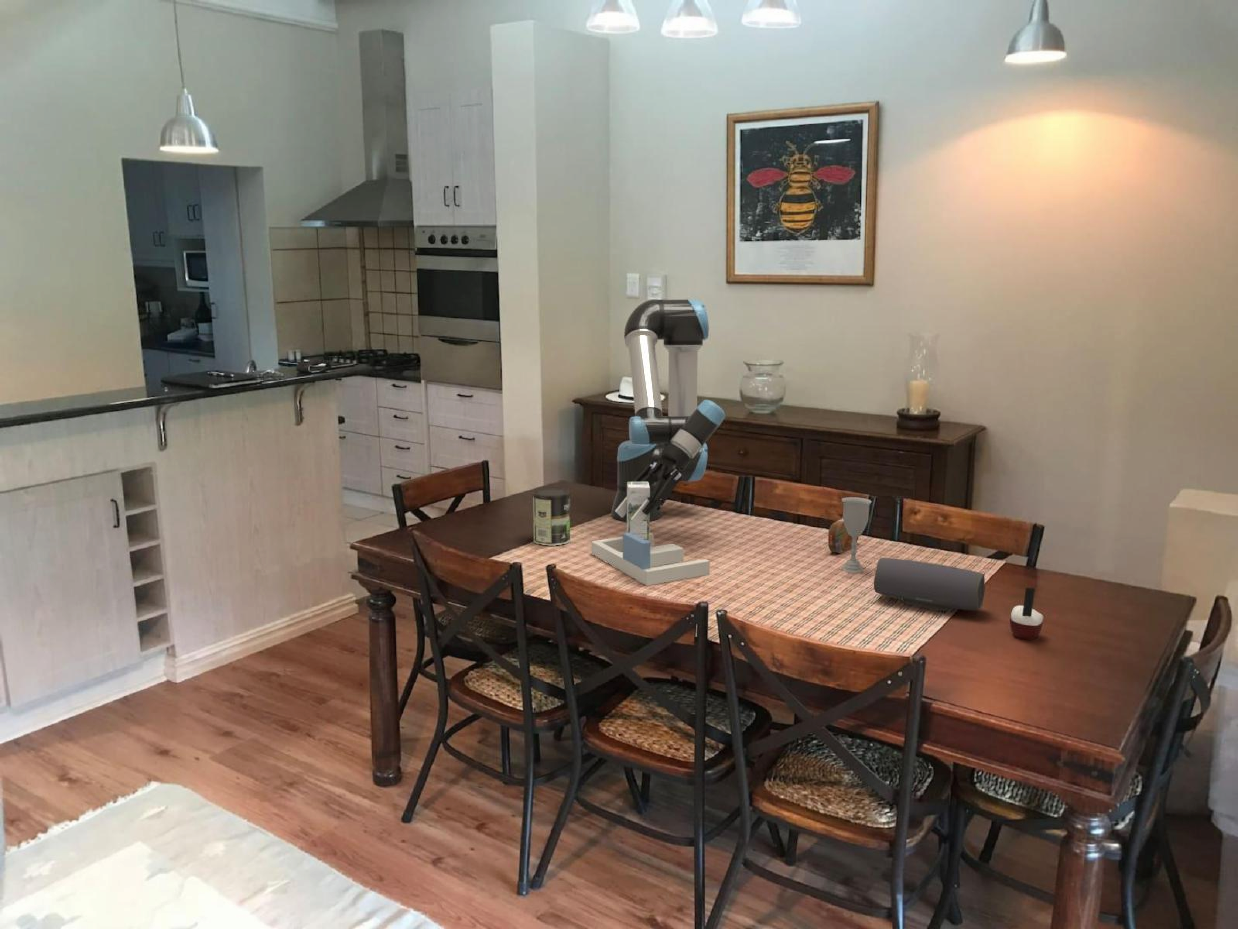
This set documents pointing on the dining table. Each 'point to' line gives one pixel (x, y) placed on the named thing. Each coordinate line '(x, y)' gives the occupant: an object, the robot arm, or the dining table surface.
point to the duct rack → (648, 559)
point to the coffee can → (551, 516)
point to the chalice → (855, 527)
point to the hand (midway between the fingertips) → (626, 518)
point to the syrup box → (635, 499)
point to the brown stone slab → (839, 537)
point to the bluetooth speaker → (929, 584)
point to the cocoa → (1026, 618)
